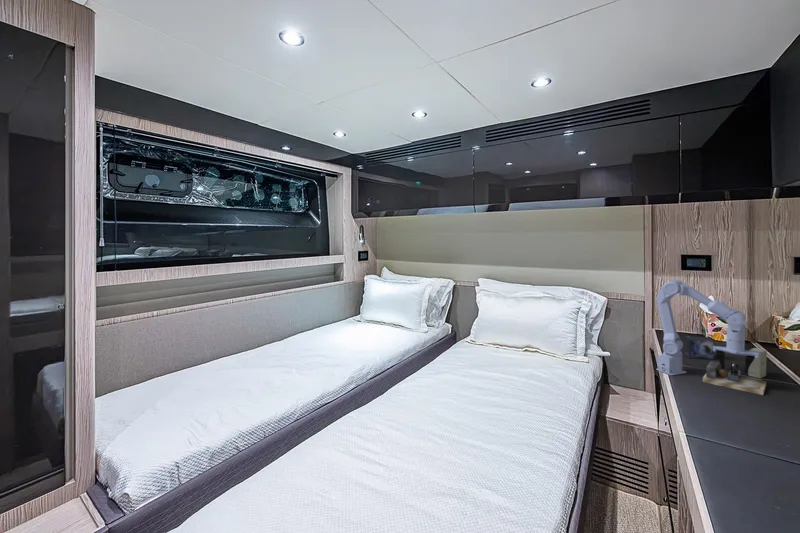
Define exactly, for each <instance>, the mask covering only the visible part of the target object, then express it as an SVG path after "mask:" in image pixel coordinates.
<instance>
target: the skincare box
mask: <svg viewBox="0 0 800 533" xmlns="http://www.w3.org/2000/svg"><path fill="white" fill-rule="evenodd" d="M748 351H752V352H757V353H759V358H755V359H754V360H753V362H752V363H751V365H750V366H749V369H748V373H747V375H748V377H752V378H758V379H762V378H765V377H766V376H767V355H768V354H767V353H768V352H767V351H768V350H767V349H764V348H760V347H759V348H757V347H753V348H751V349H749V350H748Z"/></svg>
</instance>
